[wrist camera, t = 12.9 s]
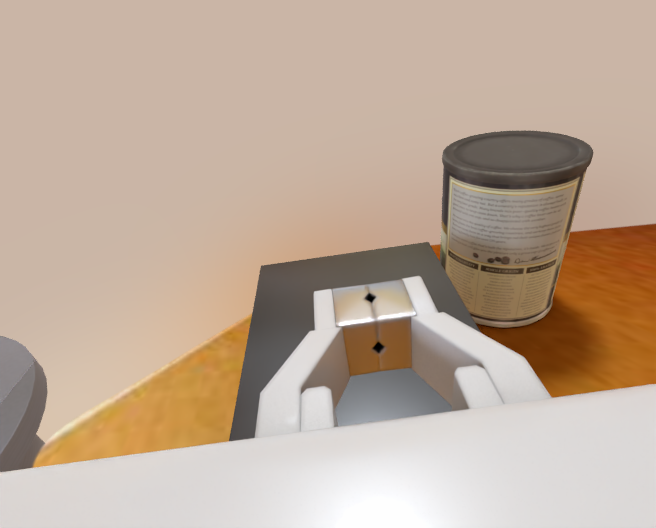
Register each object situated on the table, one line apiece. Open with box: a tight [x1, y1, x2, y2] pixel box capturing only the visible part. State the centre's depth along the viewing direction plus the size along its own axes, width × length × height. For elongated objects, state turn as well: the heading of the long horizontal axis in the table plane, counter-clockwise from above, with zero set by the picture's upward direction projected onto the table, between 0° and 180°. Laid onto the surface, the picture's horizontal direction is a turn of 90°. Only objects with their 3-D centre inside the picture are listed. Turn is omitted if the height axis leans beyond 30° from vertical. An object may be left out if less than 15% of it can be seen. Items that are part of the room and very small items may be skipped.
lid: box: [229, 242, 481, 441], centre depth 21 cm, size 14×13×1 cm
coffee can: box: [440, 131, 593, 328], centre depth 32 cm, size 10×10×14 cm
